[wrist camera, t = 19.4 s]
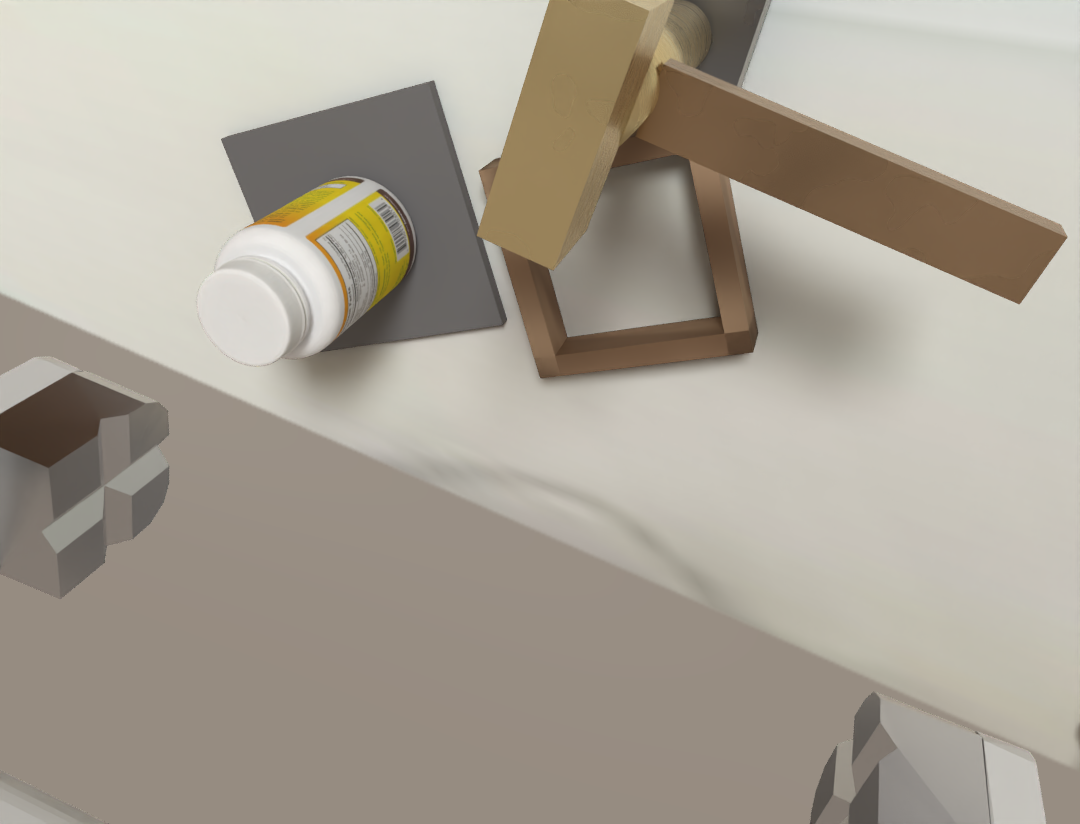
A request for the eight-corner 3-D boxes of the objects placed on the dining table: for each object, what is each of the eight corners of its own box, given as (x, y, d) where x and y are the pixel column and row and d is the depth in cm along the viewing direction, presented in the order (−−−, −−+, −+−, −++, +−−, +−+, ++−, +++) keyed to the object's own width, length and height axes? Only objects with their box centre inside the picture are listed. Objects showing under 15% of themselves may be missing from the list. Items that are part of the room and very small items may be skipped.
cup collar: (758, 332, 40) (752, 352, 38) (552, 359, 44) (540, 378, 42) (716, 108, 36) (708, 119, 35) (495, 158, 40) (478, 170, 38)
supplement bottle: (297, 248, 45) (161, 335, 36) (334, 148, 41) (194, 217, 33) (396, 310, 44) (283, 412, 36) (440, 215, 41) (327, 302, 33)
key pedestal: (649, -66, 34) (631, -62, 32) (780, -27, 33) (773, -19, 31) (612, 71, 37) (593, 85, 34) (733, 111, 36) (722, 128, 34)
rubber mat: (506, 319, 44) (502, 324, 43) (314, 348, 48) (308, 353, 47) (433, 80, 39) (428, 83, 39) (228, 136, 43) (220, 139, 43)
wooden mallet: (614, 106, 34) (468, 232, 22) (679, -67, 31) (549, -32, 19) (953, 253, 33) (997, 472, 21) (1057, 90, 30) (1183, 237, 17)
